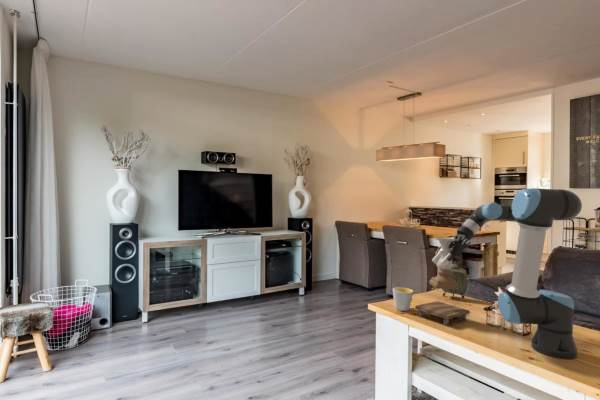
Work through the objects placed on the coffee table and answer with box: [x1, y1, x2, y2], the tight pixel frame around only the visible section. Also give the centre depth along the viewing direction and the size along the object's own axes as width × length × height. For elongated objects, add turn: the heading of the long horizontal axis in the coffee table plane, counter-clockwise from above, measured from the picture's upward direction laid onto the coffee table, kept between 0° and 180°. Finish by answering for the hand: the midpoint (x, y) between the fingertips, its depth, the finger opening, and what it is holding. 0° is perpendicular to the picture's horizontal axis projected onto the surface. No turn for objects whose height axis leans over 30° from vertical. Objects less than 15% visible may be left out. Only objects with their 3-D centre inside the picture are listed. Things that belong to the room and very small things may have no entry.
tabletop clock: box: [441, 256, 468, 300], centre depth 223 cm, size 14×9×25 cm, turn 66°
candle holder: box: [428, 236, 459, 290], centre depth 185 cm, size 11×11×24 cm
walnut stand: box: [414, 300, 471, 327], centre depth 185 cm, size 18×18×5 cm
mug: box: [392, 286, 414, 312], centre depth 198 cm, size 14×10×10 cm
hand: (438, 263), depth 184 cm, fingers closed on candle holder, 6 cm apart
